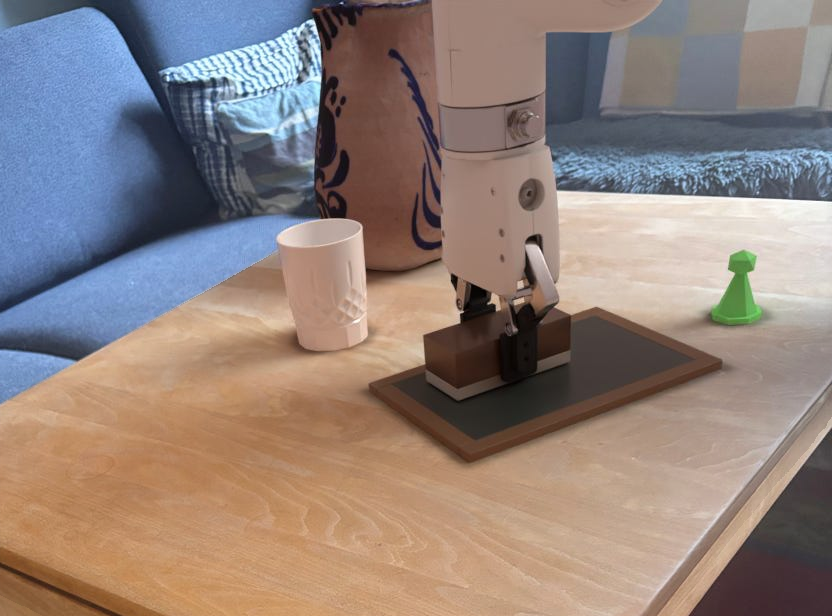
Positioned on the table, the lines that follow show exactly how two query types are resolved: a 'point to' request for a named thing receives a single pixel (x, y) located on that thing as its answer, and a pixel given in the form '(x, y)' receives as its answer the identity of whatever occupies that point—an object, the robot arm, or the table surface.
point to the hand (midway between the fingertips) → (498, 363)
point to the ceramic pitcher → (380, 128)
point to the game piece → (738, 293)
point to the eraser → (488, 352)
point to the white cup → (325, 282)
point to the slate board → (550, 387)
